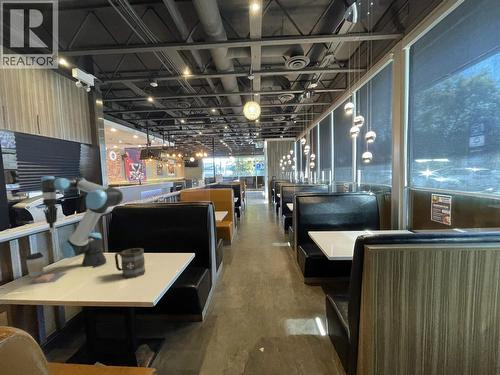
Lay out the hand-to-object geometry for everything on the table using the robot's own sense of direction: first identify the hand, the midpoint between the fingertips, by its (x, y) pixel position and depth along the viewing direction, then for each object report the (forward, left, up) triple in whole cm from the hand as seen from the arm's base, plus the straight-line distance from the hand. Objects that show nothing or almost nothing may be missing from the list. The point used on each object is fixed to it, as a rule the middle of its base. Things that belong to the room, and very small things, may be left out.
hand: (52, 232), depth 181 cm
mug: (-56, +28, -27) cm, 68 cm away
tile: (-6, +20, -24) cm, 32 cm away
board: (-6, +22, -26) cm, 35 cm away
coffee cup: (+6, +11, -27) cm, 30 cm away
